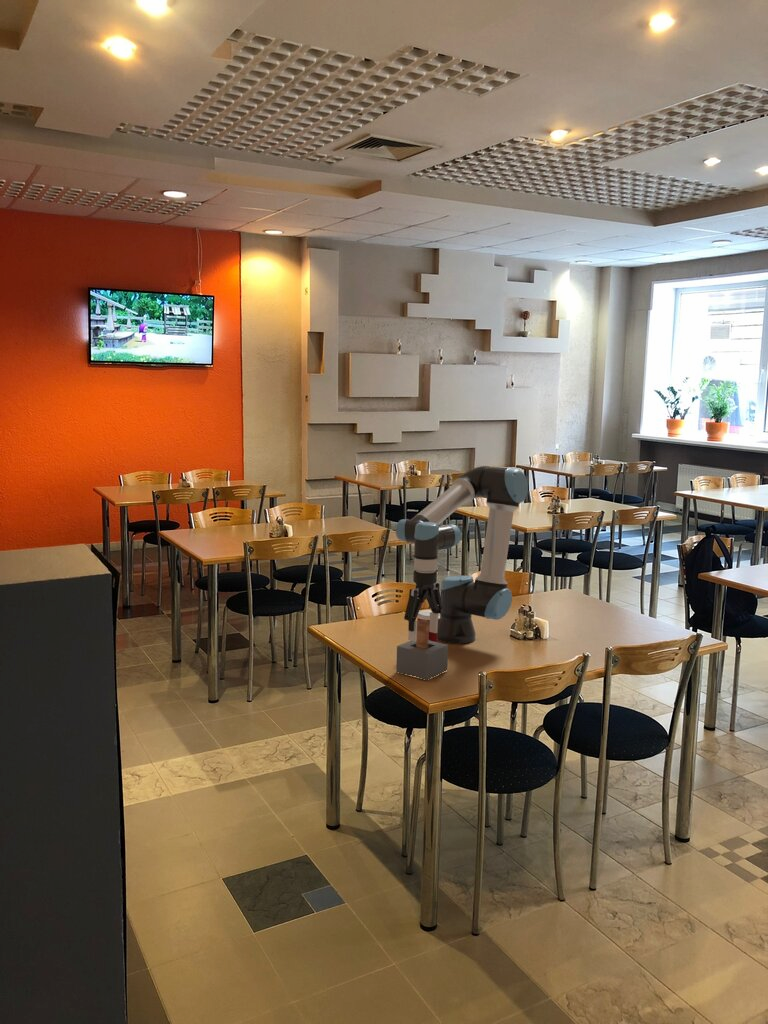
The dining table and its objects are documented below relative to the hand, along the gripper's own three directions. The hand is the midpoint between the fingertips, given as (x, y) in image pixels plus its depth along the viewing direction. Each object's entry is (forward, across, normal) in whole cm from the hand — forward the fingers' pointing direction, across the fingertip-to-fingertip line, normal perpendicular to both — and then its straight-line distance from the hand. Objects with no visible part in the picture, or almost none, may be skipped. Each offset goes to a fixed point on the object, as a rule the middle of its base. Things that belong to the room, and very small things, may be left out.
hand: (423, 636), depth 278 cm
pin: (+9, 0, 0) cm, 9 cm away
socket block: (+12, 0, 0) cm, 12 cm away
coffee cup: (+12, -16, -9) cm, 22 cm away
